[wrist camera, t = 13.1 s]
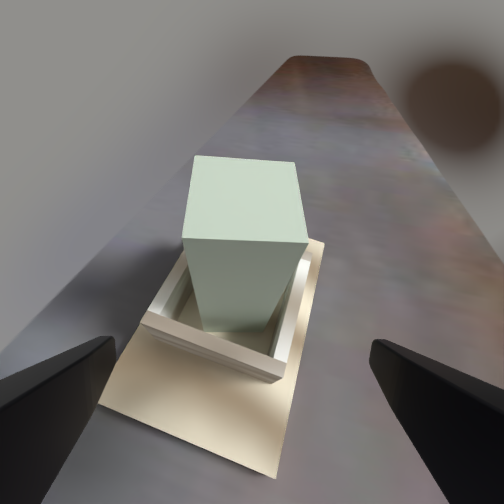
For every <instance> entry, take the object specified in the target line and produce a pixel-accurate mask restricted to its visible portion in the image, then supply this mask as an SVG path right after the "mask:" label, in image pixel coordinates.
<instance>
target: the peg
mask: <svg viewBox="0 0 504 504" xmlns="http://www.w3.org/2000/svg"><path fill="white" fill-rule="evenodd" d="M182 241H183V246H184V250H185V254H186V258H187V262H188V267H189V271H190V275H191V279H192V283H193V288H194V292H195V296H196V300H197V304H198V309H199V313H200V317H201V321H202V326H203V330H204V332H263V330H264V328H265V327H266V325H267V323H268V321H269V319H270V317H271V315H272V313H273V311H274V309H275V307H276V305H277V303H278V302H279V300H280V298H281V296H282V294H283V292H284V290H285V288H286V286H287V284H288V282H289V280H290V278H291V277H292V275H293V273H294V271H295V269H296V267H297V265H298V263H299V261H300V259H301V257H302V255H303V253H304V252H305V250H306V248H307V246H308V244H309V240H308V235H307V229H306V224H305V218H304V213H303V207H302V202H301V196H300V191H299V185H298V180H297V174H296V168H295V163H294V162H280V161H266V160H252V159H238V158H224V157H210V156H196V155H195V159H194V165H193V171H192V177H191V183H190V189H189V196H188V202H187V208H186V214H185V220H184V227H183V233H182Z"/></svg>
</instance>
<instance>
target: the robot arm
mask: <svg viewBox="0 0 504 504" xmlns="http://www.w3.org/2000/svg"><path fill="white" fill-rule="evenodd" d="M115 363H116V348H115V339H114V337H112V336H100V337H97V338H95V339H93V340H90V341H88V342H86V343H83V344H81V345H79V346H77V347H74V348H72V349H70V350H67V351H65V352H63V353H61V354H58V355H56V356H54V357H51V358H49V359H47V360H45V361H42V362H40V363H38V364H35V365H33V366H31V367H29V368H26V369H24V370H22V371H19V372H17V373H15V374H13V375H10V376H8V377H6V378H3V379H1V380H0V504H41V502H42V500H43V499H44V497H45V495H46V493H47V492H48V490H49V488H50V487H51V485H52V483H53V481H54V480H55V478H56V476H57V475H58V473H59V471H60V469H61V468H62V466H63V464H64V462H65V461H66V459H67V457H68V456H69V454H70V452H71V450H72V449H73V447H74V445H75V444H76V442H77V440H78V438H79V437H80V435H81V433H82V431H83V430H84V428H85V426H86V425H87V423H88V421H89V419H90V417H91V416H92V414H93V412H94V410H95V408H96V406H97V404H98V402H99V399H100V397H101V395H102V393H103V391H104V388H105V386H106V384H107V382H108V380H109V378H110V375H111V373H112V371H113V369H114V366H115ZM369 364H370V367H371V369H372V371H373V373H374V375H375V377H376V379H377V381H378V383H379V385H380V387H381V389H382V391H383V393H384V395H385V397H386V399H387V401H388V403H389V405H390V407H391V409H392V411H393V412H394V414H395V416H396V417H397V419H398V421H399V422H400V424H401V425H402V427H403V429H404V430H405V432H406V434H407V435H408V437H409V439H410V440H411V442H412V443H413V445H414V447H415V448H416V450H417V452H418V453H419V455H420V456H421V458H422V460H423V461H424V463H425V465H426V466H427V468H428V470H429V471H430V473H431V474H432V476H433V478H434V479H435V481H436V483H437V484H438V486H439V487H440V489H441V491H442V492H443V494H444V496H445V497H446V499H447V500H448V502H449V504H504V390H503V389H501V388H498V387H496V386H494V385H491V384H489V383H487V382H484V381H482V380H480V379H477V378H475V377H473V376H470V375H468V374H466V373H463V372H461V371H458V370H456V369H454V368H451V367H449V366H447V365H444V364H442V363H440V362H437V361H435V360H433V359H430V358H428V357H426V356H423V355H421V354H419V353H416V352H414V351H412V350H409V349H407V348H404V347H402V346H400V345H397V344H395V343H393V342H390V341H388V340H385V339H375V340H373V342H372V346H371V351H370V357H369Z"/></svg>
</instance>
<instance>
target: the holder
mask: <svg viewBox="0 0 504 504" xmlns="http://www.w3.org/2000/svg"><path fill="white" fill-rule="evenodd" d="M308 240H309V244H308V246H307V248H306V250H305V252H304V253H303V255H302V257H301V259H300V261H299V263H298V265H297V267H296V269H295V271H294V273H293V275H292V277H291V278H290V280H289V282H288V284H287V286H286V288H285V290H284V292H283V294H282V296H281V298H280V300H279V302H278V303H277V305H276V307H275V309H274V311H273V313H272V315H271V317H270V319H269V321H268V323H267V325H266V327H265V328H264V330H263V332H204V330H203V326H202V321H201V317H200V313H199V309H198V304H197V300H196V296H195V292H194V288H193V283H192V279H191V275H190V271H189V267H188V262H187V258H186V254H185V250H183V252H182V253H181V255H180V257H179V258H178V260H177V262H176V263H175V265H174V267H173V268H172V270H171V272H170V273H169V275H168V277H167V278H166V280H165V281H164V283H163V285H162V286H161V288H160V290H159V291H158V293H157V295H156V296H155V298H154V300H153V301H152V303H151V305H150V306H149V308H148V310H147V311H146V313H145V315H144V316H143V318H142V319H141V321H140V324H139V326H138V328H137V329H136V331H135V333H134V334H133V336H132V338H131V339H130V341H129V343H128V344H127V346H126V348H125V349H124V351H123V353H122V354H121V356H120V358H119V359H118V361H117V363H116V364H115V366H114V369H113V371H112V373H111V375H110V378H109V380H108V382H107V384H106V386H105V388H104V391H103V393H102V395H101V397H100V399H99V402H98V403H99V404H101V405H103V406H106V407H108V408H110V409H113V410H115V411H117V412H120V413H122V414H124V415H127V416H129V417H131V418H134V419H136V420H138V421H141V422H143V423H145V424H148V425H150V426H152V427H155V428H157V429H159V430H162V431H164V432H166V433H169V434H171V435H173V436H176V437H178V438H180V439H183V440H185V441H187V442H190V443H192V444H194V445H197V446H199V447H201V448H204V449H206V450H208V451H211V452H213V453H215V454H218V455H220V456H222V457H225V458H227V459H229V460H232V461H234V462H236V463H239V464H241V465H243V466H246V467H248V468H250V469H253V470H255V471H257V472H260V473H262V474H264V475H267V476H269V477H271V478H274V479H276V474H277V469H278V465H279V460H280V455H281V450H282V445H283V441H284V436H285V431H286V426H287V421H288V417H289V412H290V407H291V402H292V397H293V393H294V388H295V383H296V378H297V373H298V369H299V364H300V359H301V354H302V349H303V345H304V340H305V335H306V330H307V326H308V321H309V316H310V311H311V306H312V302H313V297H314V292H315V287H316V282H317V278H318V273H319V268H320V263H321V258H322V254H323V249H324V244H325V243H322V242H318V241H315V240H312V239H309V238H308Z"/></svg>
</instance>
